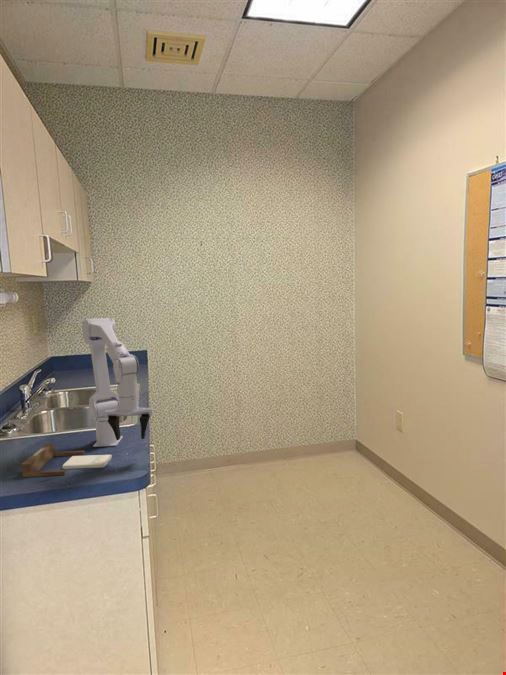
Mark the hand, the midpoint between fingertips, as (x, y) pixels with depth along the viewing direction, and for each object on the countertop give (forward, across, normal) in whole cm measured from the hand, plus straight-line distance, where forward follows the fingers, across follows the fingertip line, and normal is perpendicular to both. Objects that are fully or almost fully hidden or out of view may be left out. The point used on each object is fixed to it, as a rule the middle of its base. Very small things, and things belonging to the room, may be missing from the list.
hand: (130, 438), depth 135 cm
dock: (+7, -23, 0) cm, 24 cm away
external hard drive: (+8, -14, 0) cm, 16 cm away
